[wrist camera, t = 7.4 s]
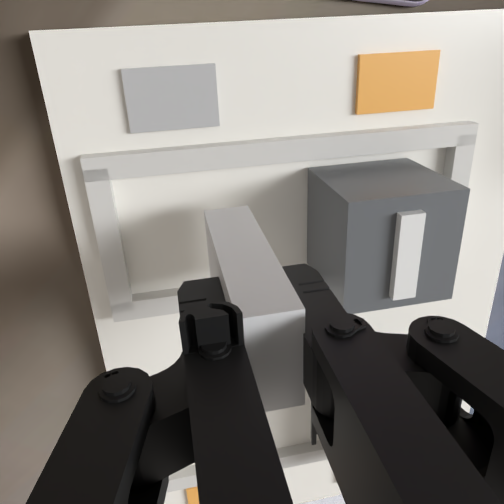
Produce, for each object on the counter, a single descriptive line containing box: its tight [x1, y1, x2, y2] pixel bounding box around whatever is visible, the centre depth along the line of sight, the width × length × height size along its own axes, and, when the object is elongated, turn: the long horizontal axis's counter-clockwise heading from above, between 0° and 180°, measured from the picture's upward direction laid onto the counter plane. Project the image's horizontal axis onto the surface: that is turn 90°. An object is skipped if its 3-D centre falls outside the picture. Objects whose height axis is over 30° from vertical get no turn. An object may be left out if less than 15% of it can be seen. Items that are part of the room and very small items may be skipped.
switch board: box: [29, 9, 504, 504], centre depth 21 cm, size 24×18×2 cm
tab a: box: [307, 158, 470, 314], centre depth 17 cm, size 4×4×4 cm
